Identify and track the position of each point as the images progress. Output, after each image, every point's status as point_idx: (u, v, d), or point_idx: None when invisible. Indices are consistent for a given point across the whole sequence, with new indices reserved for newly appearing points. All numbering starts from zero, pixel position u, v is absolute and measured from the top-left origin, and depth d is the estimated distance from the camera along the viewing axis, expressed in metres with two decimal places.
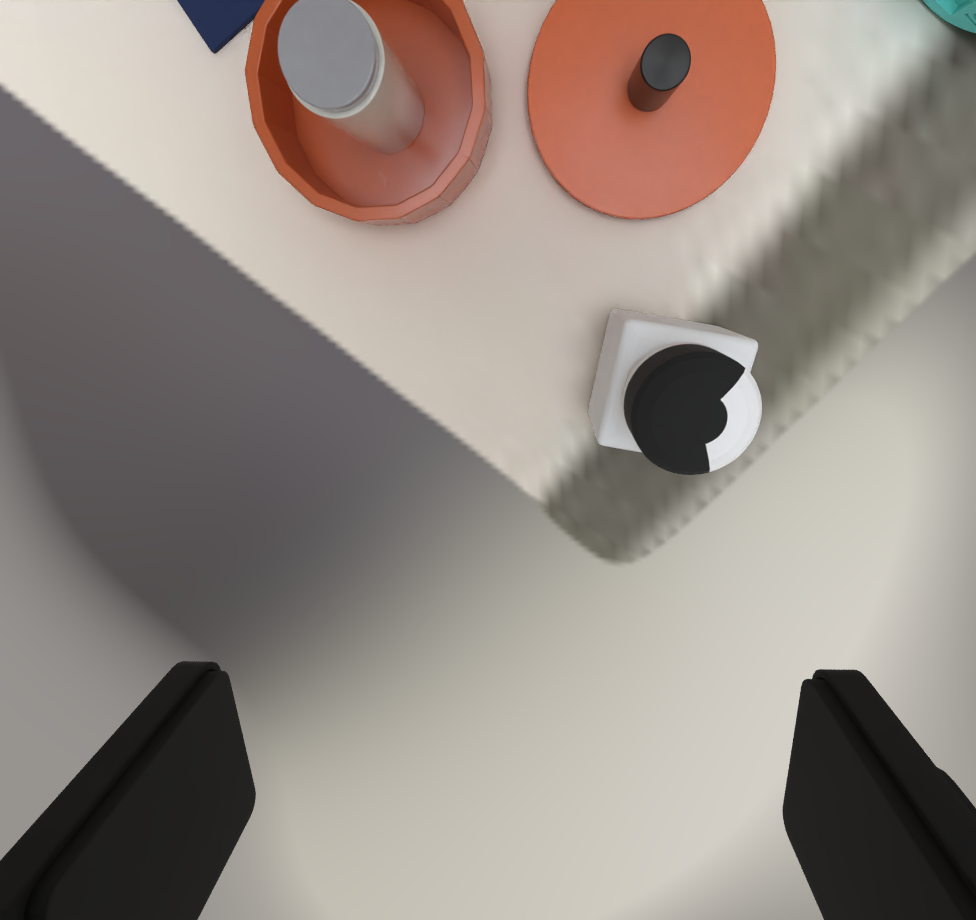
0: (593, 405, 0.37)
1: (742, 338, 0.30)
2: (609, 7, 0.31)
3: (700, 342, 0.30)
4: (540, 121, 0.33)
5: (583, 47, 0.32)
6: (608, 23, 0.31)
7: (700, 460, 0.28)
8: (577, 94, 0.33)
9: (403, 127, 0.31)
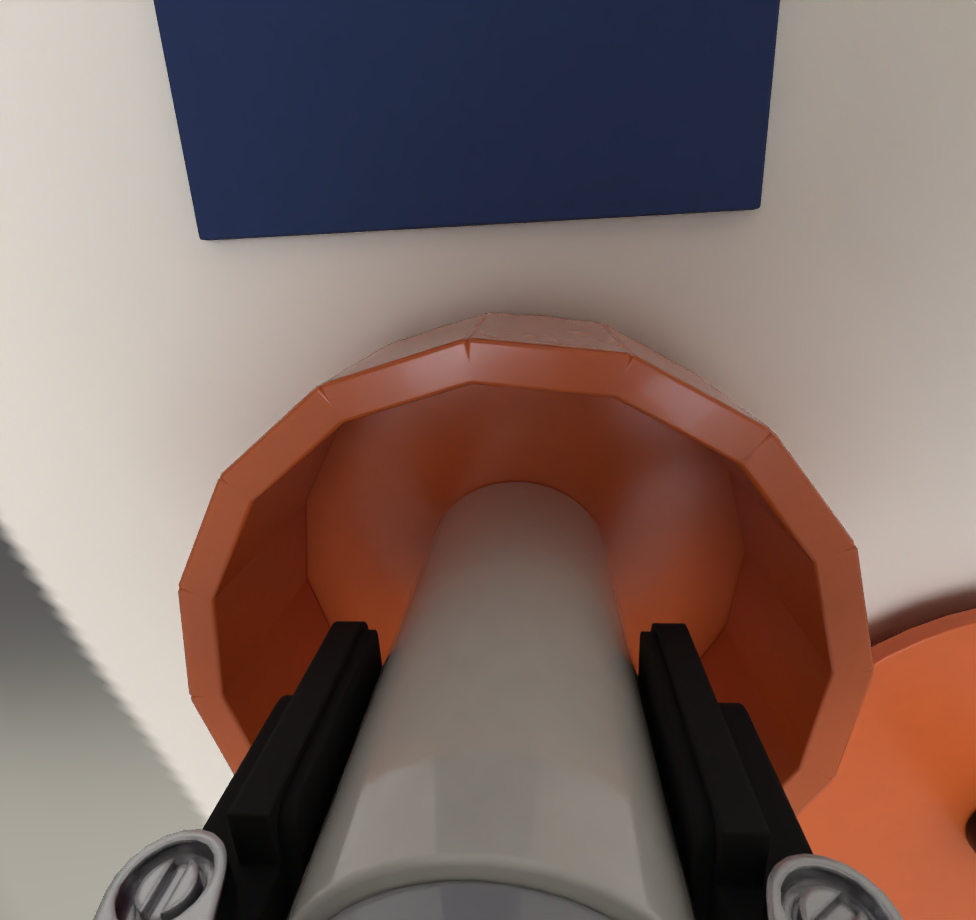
0: None
1: None
2: None
3: None
4: None
5: (960, 713, 0.15)
6: None
7: None
8: (888, 766, 0.15)
9: None
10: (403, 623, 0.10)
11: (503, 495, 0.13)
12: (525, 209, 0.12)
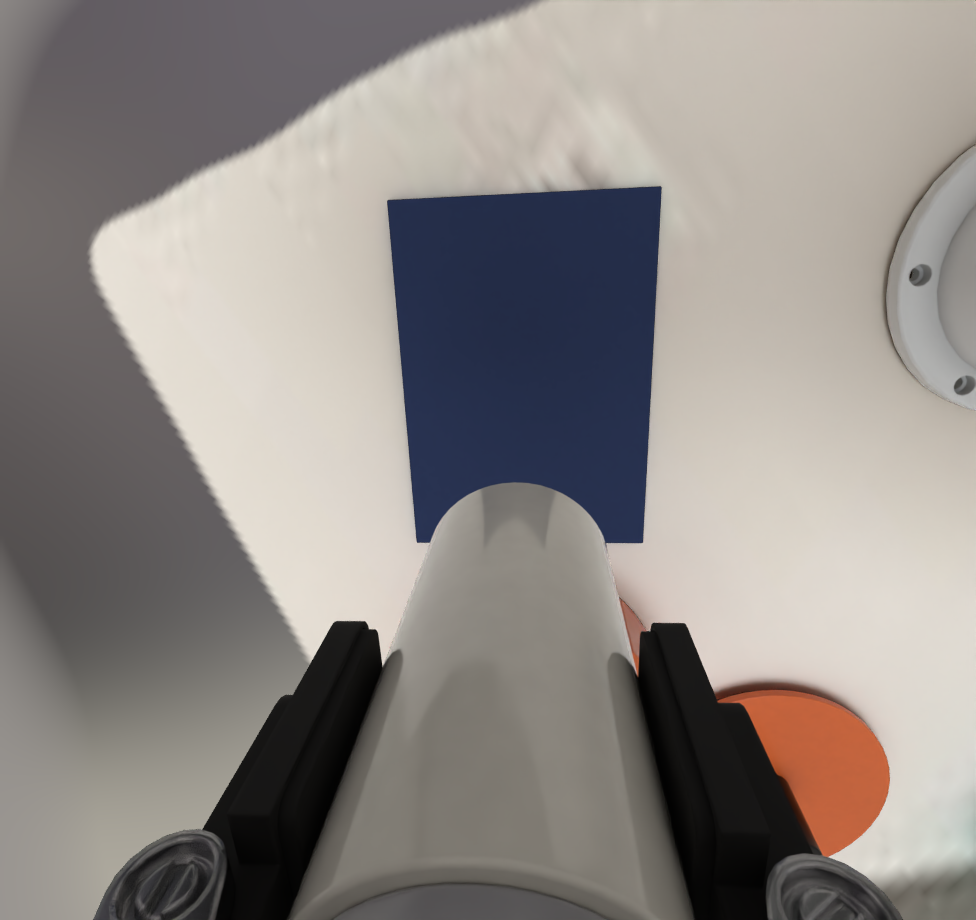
0: None
1: None
2: (776, 728, 0.33)
3: None
4: None
5: None
6: (768, 736, 0.33)
7: None
8: None
9: None
10: (403, 624, 0.10)
11: (503, 497, 0.13)
12: None
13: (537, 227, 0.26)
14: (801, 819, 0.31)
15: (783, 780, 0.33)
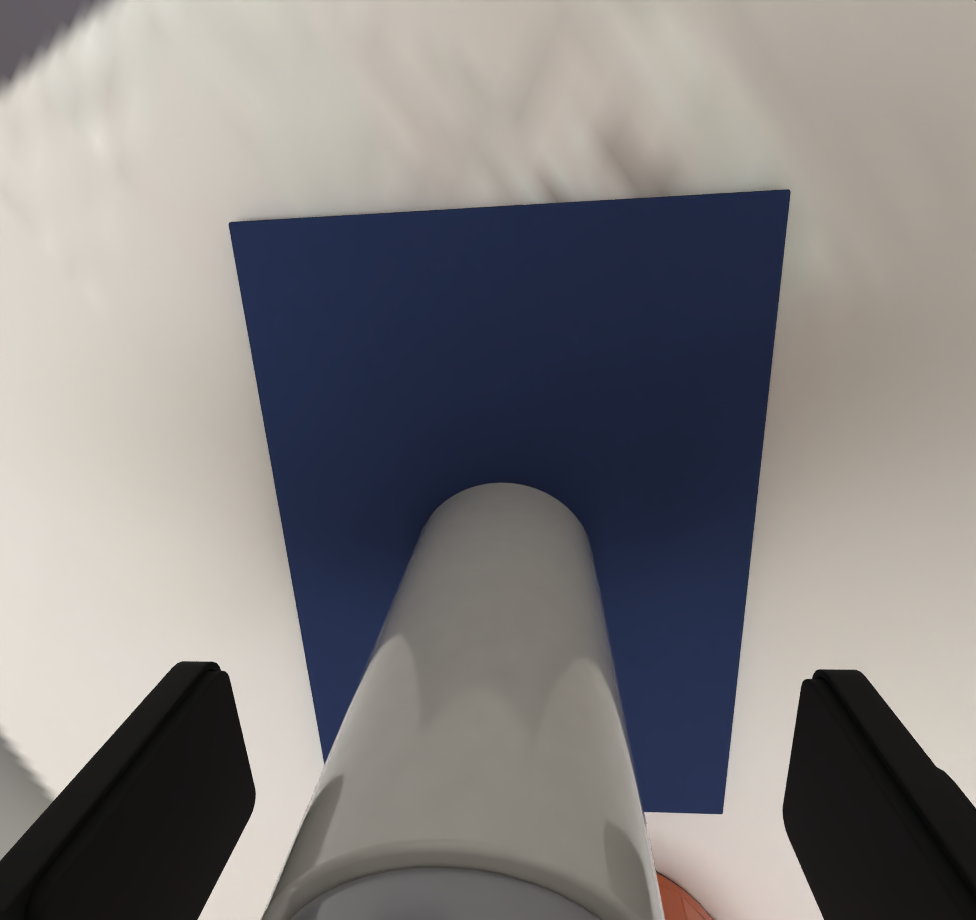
0: None
1: None
2: None
3: None
4: None
5: None
6: None
7: None
8: None
9: None
10: (387, 622, 0.11)
11: (488, 497, 0.14)
12: None
13: (531, 274, 0.13)
14: None
15: None
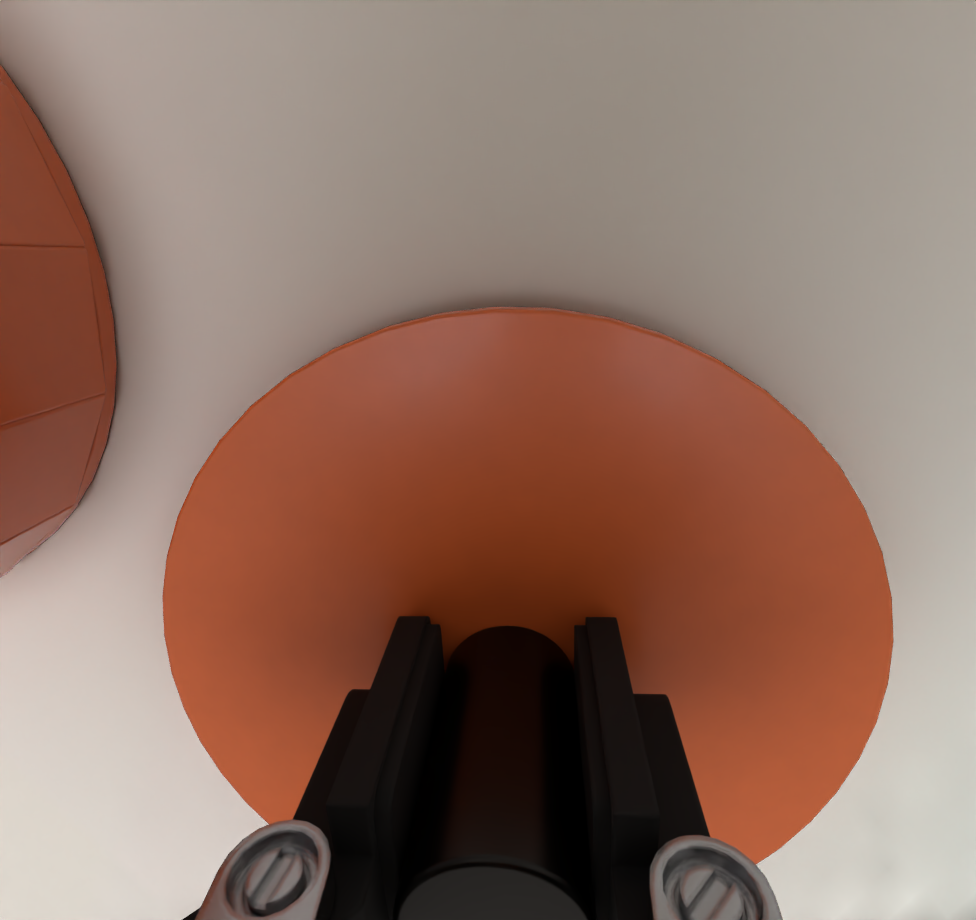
0: None
1: None
2: (499, 451, 0.09)
3: None
4: (191, 589, 0.11)
5: (381, 499, 0.10)
6: (476, 485, 0.10)
7: None
8: (315, 589, 0.11)
9: None
10: None
11: None
12: None
13: None
14: (544, 757, 0.08)
15: (543, 643, 0.10)
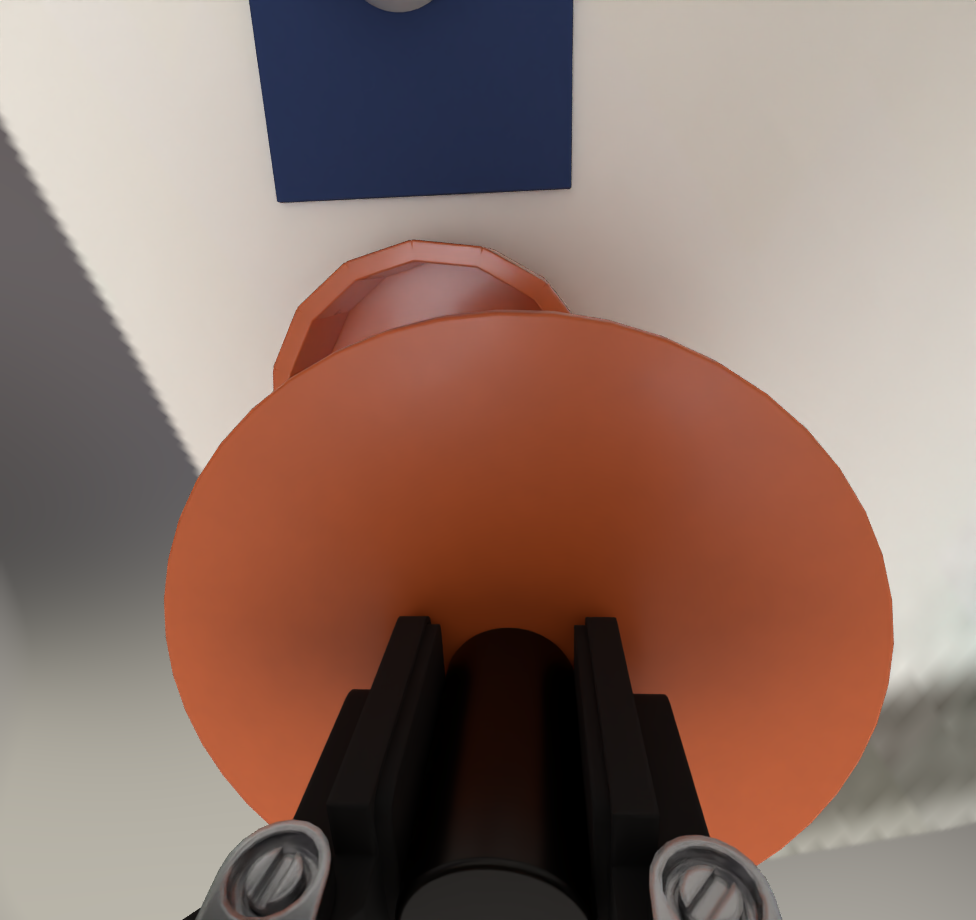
0: None
1: None
2: (500, 454, 0.09)
3: None
4: (193, 591, 0.11)
5: (382, 501, 0.10)
6: (477, 488, 0.10)
7: None
8: (317, 590, 0.11)
9: None
10: None
11: None
12: (450, 187, 0.23)
13: None
14: (545, 759, 0.08)
15: (544, 645, 0.10)
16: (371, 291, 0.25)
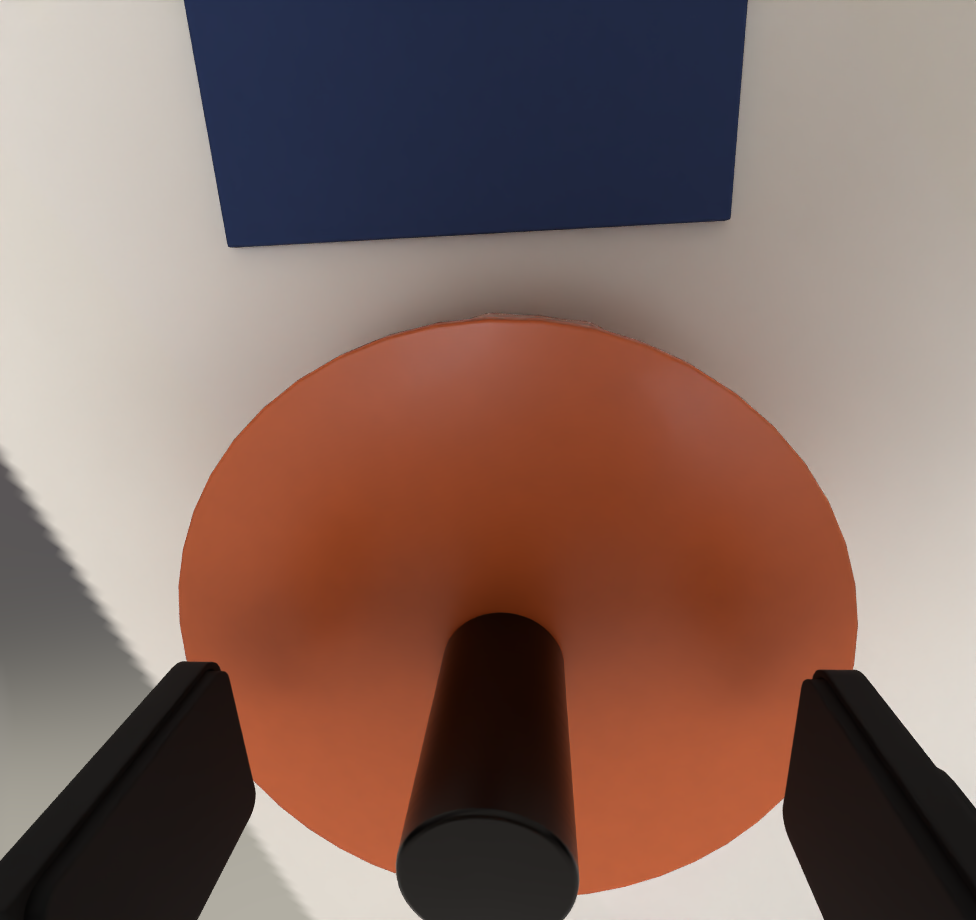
0: None
1: None
2: (492, 450, 0.10)
3: None
4: (206, 579, 0.12)
5: (383, 494, 0.11)
6: (471, 482, 0.10)
7: None
8: (322, 578, 0.11)
9: None
10: None
11: None
12: (521, 220, 0.14)
13: None
14: (532, 727, 0.09)
15: (534, 628, 0.11)
16: None
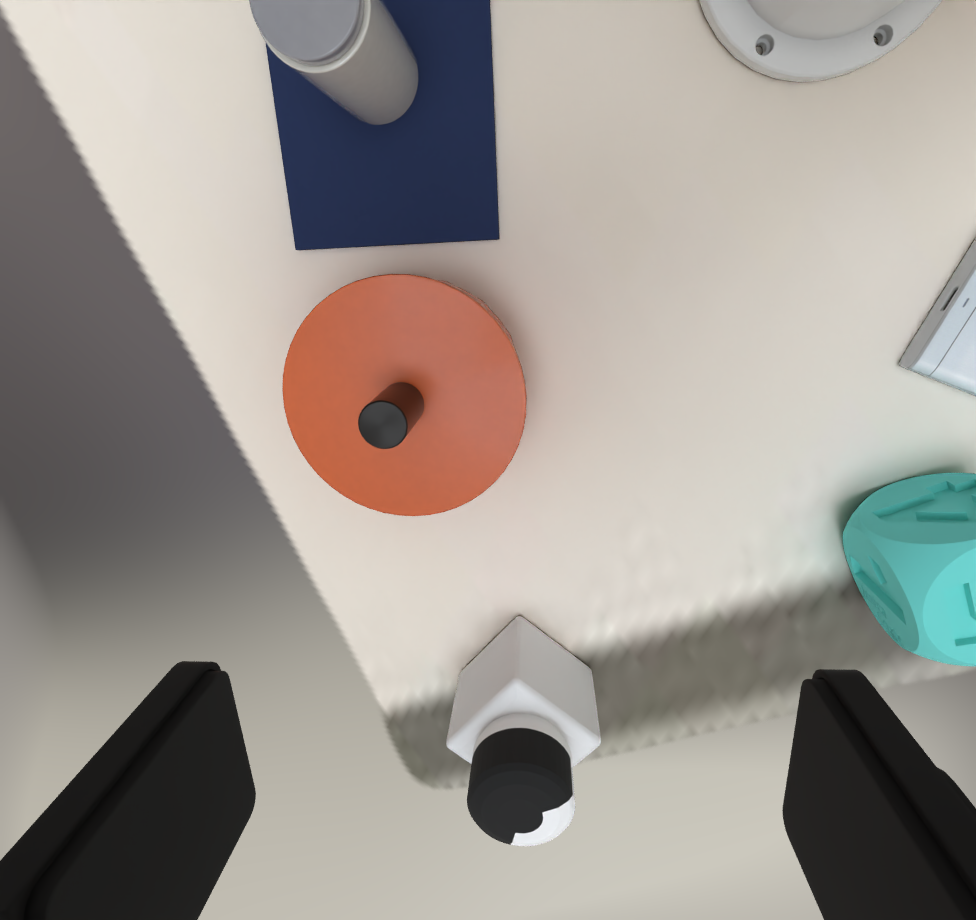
0: (463, 685, 0.41)
1: (591, 734, 0.36)
2: (394, 319, 0.30)
3: (559, 724, 0.36)
4: (293, 372, 0.32)
5: (357, 337, 0.31)
6: (388, 331, 0.30)
7: (506, 839, 0.33)
8: (336, 370, 0.31)
9: (375, 107, 0.29)
10: None
11: None
12: (416, 239, 0.34)
13: None
14: (400, 396, 0.29)
15: (411, 385, 0.31)
16: None
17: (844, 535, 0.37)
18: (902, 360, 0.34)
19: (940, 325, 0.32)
